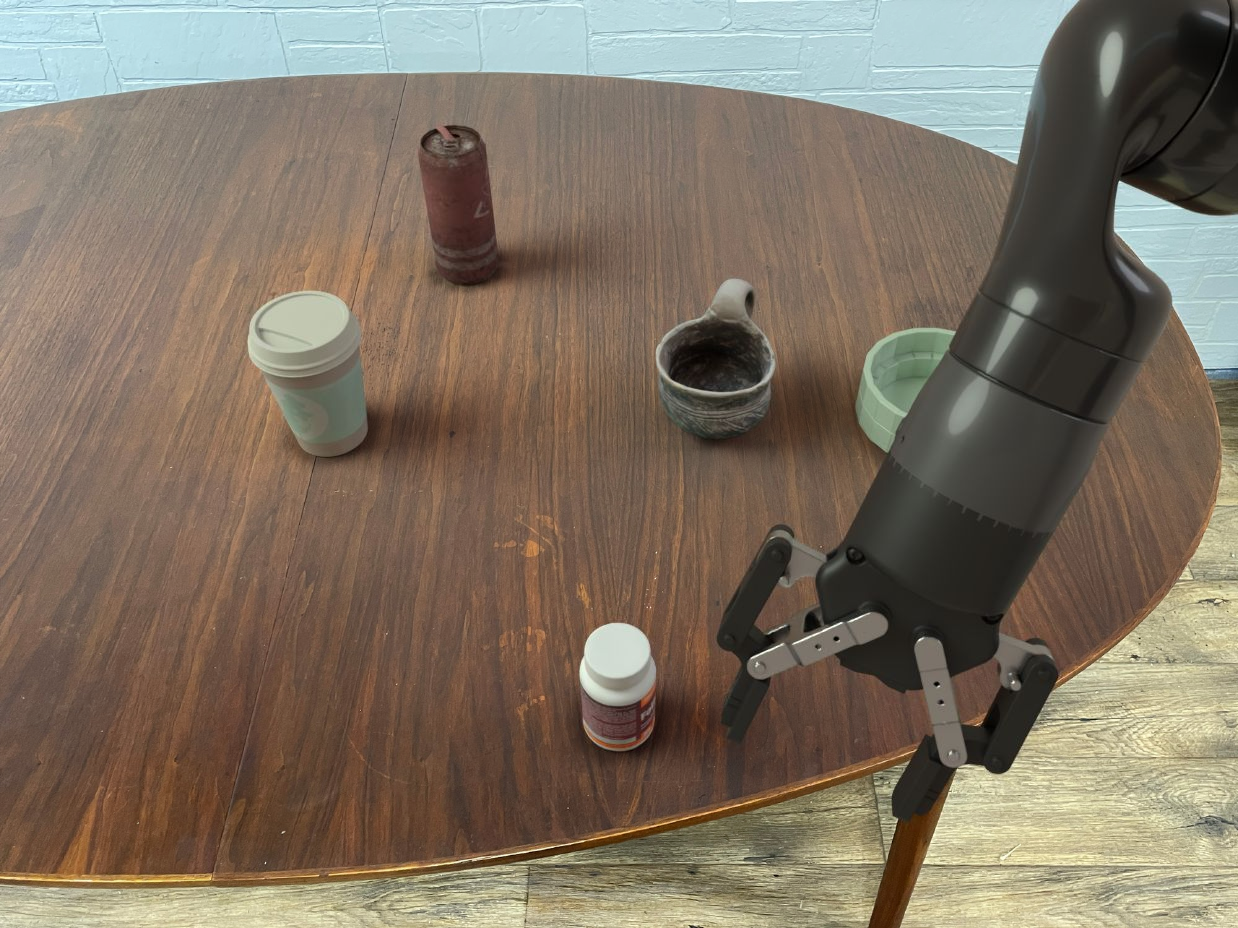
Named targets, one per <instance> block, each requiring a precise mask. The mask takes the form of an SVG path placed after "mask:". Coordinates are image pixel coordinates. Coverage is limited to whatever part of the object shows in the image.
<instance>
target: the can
mask: <svg viewBox="0 0 1238 928" xmlns="http://www.w3.org/2000/svg"><path fill="white" fill-rule="evenodd" d="M419 141H420V142H419V145H418V147H417V158H418V165H419V170H420V171H419V172H420V176H421V181H422V183H421V184H422V188H423V194H424V200H425V205H426V206H425V207H426V212H427V219H428V223H429V229H430V236H431V241H432V248H433V253H434V260H435V265H436V269H437V271H438V273H439V275H440V276H442V278H444V279H445V280H447V282H450V283H452V284H455V285H461V286H462V285H463V286H468V285H477V284H481V283H483V282H485V281H486V280H488V279H490V278H491V277H492V276H493V275H494V274H495V272H496V271H497V269H498V267H499V265H500V258H499V249H498V240H497V231H496V224H495V213H494V206H493V197H492V187H491V177H490V170H489V161H488V154H487V144H486V143H485V142H484V139H483V138H482V136H481V134H480V132H479V131H477V130H476V129H475V128H473V127H470V126H468V125H467V126H466V125H460V124H451V125H450V124H446V125H442V124H440V125H437V126H435V127H434V128H433V129H430V130H429V131H427V132H425V133H424V134H423V135H422V137H421V138H420V140H419Z"/></svg>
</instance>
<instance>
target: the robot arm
mask: <svg viewBox="0 0 1238 928" xmlns="http://www.w3.org/2000/svg"><path fill="white" fill-rule="evenodd" d="M1035 74H1036V75H1035V77H1034V82H1033V86H1032V90H1031V93H1030V97H1029V102H1028V107H1027V111H1026V117H1025V123H1024V128H1023V133H1022V139H1021V143H1020V149H1019V154H1018V159H1017V163H1016V168H1015V171H1014V172H1015V173H1014V176H1013V180H1012V186H1011V189H1010V193H1009V197H1008V201H1007V204H1006V209H1005V213H1004V217H1003V220H1002V224H1001V228H1000V232H999V235H998V240H997V243H996V246H995V249H994V252H993V255H992V259H991V261H990V264H989V266H988V269H987V271H986V273H985V274H984V276H983V278H982V280H981V283H980V285H978V288H977V290H976V291H975V293H974V295H973V297H972V299H971V301H970V303H969V305H968V307H967V310H966V311H965V313H964V315H963V316H962V319H961V321H960V323H959V325H958V327H957V329H956V330H955V331H956V333H955V335H954V337H953V339H952V341H951V343H950V345H949V348H950V349H948V350H946V352H945V354H944V356H943V357H942V359H941V361H940V362H939V364H938V365H937V367H936V368H935V370H934V371H933V373H932V374H931V376H930V377H929V378H928V380H927V381H926V383H925V384H924V386H923V387H922V389H921V390H920V392H919V393H918V395H917V397H916V399H915V400H914V402H913V404H912V406H911V408H910V410H909V412H908V414H907V415H906V416H905V418H903V419H902V420H901V422H900V424H899V426H898V428H897V430H896V432H895V434H896V435H895V438H894V441H893V443H892V445H891V447H890V449H889V451H888V453H887V454H886V455H885V457H884V460H883V462H882V463H881V465H880V467H879V469H878V471H877V473H876V475H875V477H874V479H873V481H872V483H871V485H870V487H869V489H868V491H867V492H866V495H865V497H864V498H863V500H862V503H861V505H860V507H859V509H858V511H857V513H856V515H855V517H854V519H853V520H852V522H851V525H850V526H849V528H848V529H847V530H848V531H847V532H846V534H845V536H844V538H843V539H842V541H841V542H840V543H839V544H838V545H837V546H836V547H835V548H834V549H832V550H831V551H829V552H827V553H826V554H824V553H822V552H820V551H819V550H817V549H815V548H813V547H811V546H809V545H807V544H805V543H803V542H801V541H800V540H797V539H796V538H795V532H794V531H793V529H792V528H791V527H790V526H789V525H786V524H782V523H779V524H778V523H777V524H774V525H773V526H772V527H770V529H769V531H768V532H767V534H766V536H765V538H764V540H763V541H762V543H761V545H760V546H759V548H758V550H757V552H756V554H755V556H754V558H753V559H752V561H751V563H750V565H749V566H748V567H747V570H746V572H745V574H744V576H743V577H742V578H741V581H740V582H739V584H738V585H737V588H736V590H735V591H734V593H733V595H732V596H731V598H730V600H729V602H728V604H727V605H726V608H725V610H724V611H723V613H722V617H721V621H720V624H719V627H718V631H717V635H716V643H717V646H718V647H719V648H720V649H722V650H723V651H725V652H728V653H729V652H731V653H732V654H733V655H735V656H736V658H737V659H738V661H740V667H739V669H738V671H737V672H736V675H735V677H734V679H733V681H732V683H731V685H730V687H729V689H728V690H727V691H728V692H727V693H726V695H725V697H724V701H723V704H722V709H721V713H720V715H721V716H720V723H721V724H722V725H724V726H726V727H727V731H726V735H725V738H726V739H727V740H729V741H731V742H733V743H736V744H738V745H740V744H741V743H742V741H743V739H744V737H745V735H746V733H747V731H748V730H749V728H750V726H751V723H752V721H753V720H754V717H755V716H756V714H757V712H758V709H759V708H760V706H761V704H762V702H763V700H764V698H765V696H766V694H767V692H768V690H769V688H770V686H771V681H772V677H773V676H775V675H777V674H780V673H782V672H784V671H787V670H789V669H792V668H793V667H796V666H801V667H807V666H810V665H811V664H814V663H816V662H819V661H821V660H823V659H825V658H828V657H830V656H833V655H834V656H835V657H836V658H837V659H838V660H839V665H840V666H841V667H844V668H845V669H848V670H850V671H852V672H855V673H858V674H863V675H868V676H872V677H875V678H876V679H877V680H879V681H880V682H881V683H883V684H884V685H885V686H886V687H887V688H889V689H892V690H895V691H896V692H899V693H901V694H903V695H905V694H906V692H907V691H912V692H913V691H915V692H917V691H922V690H923V693H924V694H923V695H924V698H925V701H926V707H927V710H928V716H929V719H930V720H929V721H930V723H931V726H932V729H933V734H932V735H928V734H926V733H925V734H924V736H923V738H922V740H921V741H920V743H919V745H918V746H917V748H916V750H915V752H914V753H913V755H912V756H911V758H910V760H909V761H908V764H907V765H906V767H905V769H904V770H903V772H902V773H901V775H900V777H899V779H898V781H897V782H896V784H895V786H894V788H893V790H892V793H891V816H892V817H894V818H895V819H898V820H900V821H902V822H904V823H907V824H908V823H909V822H910V821H911V820H912V818H913V816H914V815H916V816H919V817H921V818H922V817H923V816H925V815H927V814H928V813H929V812H930V811H931V810H932V809H933V807H934V805H935V804H936V802H937V800H938V799H939V797H940V795H941V794H942V793H943V791H944V789H945V788H946V786H947V784H948V782H949V780H950V779H951V777H952V776H953V774H954V772H955V771H956V770H957V769H959V768H960V767H963V766H967V765H971V766H980V767H984V768H985V770H986V771H987V772H989V773H991V774H993V775H1003V774H1005V773H1007V772H1008V771H1009V770H1010V769H1011V767H1012V766H1013V764H1014V762H1015V760H1016V758H1017V756H1018V754H1019V753H1020V751H1021V749H1022V748H1023V745H1024V744H1025V742H1026V740H1027V737H1028V736H1029V734H1030V732H1031V730H1032V729H1033V727H1034V726H1035V725H1034V724H1035V723H1036V721H1037V719H1038V717H1039V715H1040V713H1041V711H1042V709H1043V708H1044V706H1045V704H1046V702H1047V701H1048V699H1049V697H1050V695H1051V693H1052V691H1053V689H1054V688H1055V686H1056V683H1057V682H1058V679H1059V677H1060V676H1059V675H1060V674H1059V673H1060V672H1059V670H1058V668H1057V664H1056V661H1055V659H1054V656H1053V652H1052V651H1051V649H1050V647H1049V644H1048V643H1047V641H1045V639H1042V638H1041V637H1040V638H1039V637H1030V638H1028V639H1026V640H1022V639H1019V638H1016V637H1013V636H1011V635H1008V634H1005V633H1003V632H1001V631H1000V627H1001V623H1002V620H1003V618H1004V617H1005V616H1006V615H1007V613H1008V611H1009V609H1010V608H1011V606H1012V605H1013V603H1014V601H1015V599H1016V598H1017V596H1018V595H1019V592H1020V591H1021V589H1022V587H1023V586H1024V585H1025V582H1026V580H1027V579H1028V577H1029V575H1030V574H1031V572H1032V570H1033V569H1034V568H1035V565H1036V564H1037V562H1038V560H1039V558H1040V556H1041V555H1042V554H1043V552H1044V550H1045V548H1046V546H1047V544H1048V543H1049V541H1050V540H1051V538H1052V537H1053V535H1054V533H1055V532H1056V530H1057V528H1058V527H1059V524H1060V523H1061V521H1062V520H1063V518H1064V516H1065V515H1066V512H1067V511H1068V509H1069V508H1070V506H1071V504H1072V502H1073V501H1074V499H1075V497H1076V496H1077V494H1078V493H1079V491H1080V488H1081V487H1082V486H1083V484H1084V481H1085V480H1086V478H1087V477H1088V474H1089V472H1090V470H1091V467H1092V465H1093V463H1094V460H1095V458H1096V455H1097V452H1098V450H1099V447H1100V445H1101V442H1102V440H1103V438H1104V436H1105V433H1106V432H1107V430H1108V428H1109V426H1110V422H1112V421H1113V419H1114V417H1115V415H1116V414H1117V412H1118V410H1119V409H1120V407H1121V405H1122V404H1123V401H1124V400H1125V398H1126V397H1127V395H1128V393H1129V391H1130V390H1131V388H1132V386H1133V385H1134V383H1135V381H1136V379H1137V378H1138V376H1139V375H1140V373H1141V371H1142V370H1143V368H1144V366H1145V363H1146V362H1147V361H1148V359H1149V358H1150V356H1151V355H1152V353H1153V351H1154V349H1155V347H1156V346H1157V344H1158V342H1159V341H1160V338H1161V336H1162V335H1163V333H1164V331H1165V329H1166V326H1167V324H1168V323H1169V321H1170V317H1171V314H1172V311H1173V296H1172V292H1171V290H1170V288H1169V286H1168V285H1167V283H1166V282H1165V281H1164V280H1163V279H1162V278H1161V277H1160V276H1159V275H1158V274H1157V273H1156V272H1154V271H1153V270H1152V269H1151V268H1149V267H1148V266H1146V264H1144V263H1142V262H1141V261H1140V260H1139V259H1137V258H1136V257H1134V256H1132V254H1130V253H1129V252H1128V251H1127V250H1126V249H1124V248H1123V247H1122V246H1121V244H1120V242H1119V241H1118V240H1117V238H1116V236H1115V211H1116V199H1117V194H1118V188H1119V183H1120V182H1121V183H1122V184H1126V185H1127V186H1129V187H1132V188H1135V189H1137V190H1139V191H1141V192H1143V193H1146V194H1148V195H1150V196H1153V197H1155V198H1157V199H1160V200H1162V201H1165V202H1167V203H1169V204H1171V205H1174V206H1177V207H1179V208H1181V209H1184V210H1186V211H1189V212H1192V213H1195V214H1200V215H1205V216H1210V217H1227V216H1229V217H1230V216H1237V215H1238V0H1077V2H1076V3H1075V4H1074V6H1073V7H1071V8H1070V10H1069V11H1068V12H1067V13H1066V15H1065V16H1064V17H1063V19H1062V20H1061V21H1060V23H1059V25H1058V26H1057V28H1056V29H1055V31H1054V32H1053V34H1052V36H1051V38H1050V40H1049V41H1048V44H1047V46H1046V48H1045V50H1044V53H1043V55H1042V57H1041V61H1040V63H1039V66H1038V69H1037V71H1036V73H1035ZM806 577H807V578H808V577H809V578H813V579H814V580H815V581H814V582H815V583H814V584H815V590H816V594H817V595H816V596H817V599H818V602H817V603H814V604H812V605H810V606H808V607H806V608H803V609H801V610H799V611H797V612H796V613H794V614H793V615H792V616H791V617H790V618H789V619H788V620H786V621H783V622H781V623H779V624H776V625H775V626H773V627H770V628H767V629H766V630H764V631H762V630H761V629H760V628H759V627H757V625H755V623H756V621H757V619H758V617H759V616H760V614H761V612H762V611H763V609H764V608H765V606H766V604H767V602H768V600H769V599H770V597H771V595H772V593H773V591H774V590H775V588H776V586H777V587H779V588H783V589H785V588H787V589H788V588H790V587H793V586H794V585H795V584H796V583H797V582H798V581H799V580H800V579H802V578H806ZM992 659H994V660H995V661H997V666H996V671H997V676H998V679H999V682H1000V684H1001V685H1000V687H999V689H998V691H997V693H996V695H995V697H994V698H993V701H992V702H991V705H990V706H989V708H988V711H987V713H985V716H984V718H983V721H982V722H981V723H980V725H971V724H963V723H962V720H961V714H960V711H959V705H958V701H957V696H956V692H955V688H954V687H955V686H954V683H953V678H954V677H956V676H959V675H961V674H963V673H965V672H968V671H970V670H972V669H975V668H977V667H979V666H982V665H984V664H986V663H988V662H989V661H991V660H992Z"/></svg>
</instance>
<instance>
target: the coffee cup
mask: <svg viewBox="0 0 1238 928" xmlns="http://www.w3.org/2000/svg"><path fill="white" fill-rule="evenodd" d="M248 328H249V331H248V332H249V333H248V336H247V349H248V356H249V359H250V360H251V362H252V363H253V364H254V365H255V367H257V368H258V369H260V371H261V373H262V375H263V378H264V379H265V381H266V383H267V385H268V387H269V389H270V391H271V393H272V394H273V397H274V399H275V400H276V402H277V404H278V406H279V408H280V410H281V412H282V414H283V417H284V418H285V420H286V422H287V423H288V426H289V427H290V429H291V432H292V434H293V435H294V437H295V439H296V440H297V443H298V445H299V446H300V448H301V449H302V451H305V452H306V453H307V454H310V455H312V456H315V457H322V458H331V457H338V456H342V455H343V454H346V453H349V452H350V451H352V450H354V449H356V448H357V447H358V446H359V445H360V444H361V443H363V441H364V439H365V438H366V437H367V434H368V430H369V425H368V414H367V404H366V396H365V395H366V394H365V386H364V385H365V384H364V377H363V375H364V374H363V367H362V357H361V347H360V343H361V341H362V336H363V333H362V332H363V331H362V326H361V324H360V322H359V321H358V318H357V316H356V314H355V313H354V312H353V311H352V310H351V309H350V308H349V307H348V305H347V304H346V303H345V301H344V300H343V299H342V298H340V297H339V296H337V295H335V294H332V293H329V292H326V291H320V290H299V291H294V292H289V293H286V294H282V295H280V296H278V297H275V298H273V299H272V300H269V301H268V302H266V303H265V304H264V305H262V306H261V307H260V308H259V309H258V310H257V311H256V312H255V313H254V314H253V316H252V317H251V320H250V322H249V327H248Z"/></svg>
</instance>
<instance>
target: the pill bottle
mask: <svg viewBox="0 0 1238 928" xmlns="http://www.w3.org/2000/svg"><path fill="white" fill-rule="evenodd" d="M583 650H584V652H583V657H582V659H581V661H580V666H579V684H580V696H581V697H580V701H581V712H582V713H581V714H582V716H581V717H582V724H583V728H584V730H585V732H586V735H587V736H588V737H589V739H590V740H591V741H592V742H593V743H594V744H596V745H597V746H598V747H600V748H602V749H604V750H608V751H611V752H612V751H613V752H627V751H631V750H633V749H636V748H637V747H639V746H641V745H642V744H643V743H644V742H645V741H646V740H648V738H649V737H650V736H651V734H652V732H653V729H654V726H655V719H656V699H657V667H656V663H655V660H654V658H653V656H652V650H651V645H650V641H649V638H648V637H647V636H646V634H645V633H644V632H643V631H642V630H641V629H639V628H638V627H636V626H634V625H632V624H628V623H626V622H625V623H624V622H610V623H607V624H604V625H602V626H600V627H598V628H596V629H595V630H594V631H593V632H591V633H590V635H589V636H588V638H587V639H586V642H585V645H584V649H583Z"/></svg>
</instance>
